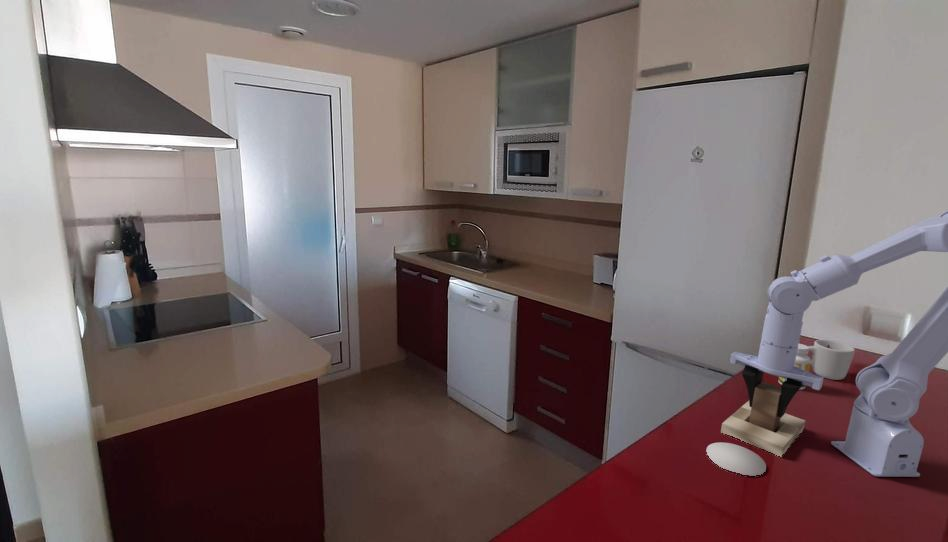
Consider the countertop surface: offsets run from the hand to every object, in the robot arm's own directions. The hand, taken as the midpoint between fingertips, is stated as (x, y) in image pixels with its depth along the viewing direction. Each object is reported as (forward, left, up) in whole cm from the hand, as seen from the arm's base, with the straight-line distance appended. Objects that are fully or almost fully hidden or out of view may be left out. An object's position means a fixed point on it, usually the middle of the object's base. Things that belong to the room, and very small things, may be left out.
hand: (766, 410), depth 89 cm
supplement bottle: (+20, -20, -5) cm, 29 cm away
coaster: (-9, +11, -4) cm, 15 cm away
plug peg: (0, 0, -3) cm, 3 cm away
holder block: (0, 0, -4) cm, 4 cm away
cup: (+26, -32, -5) cm, 41 cm away
